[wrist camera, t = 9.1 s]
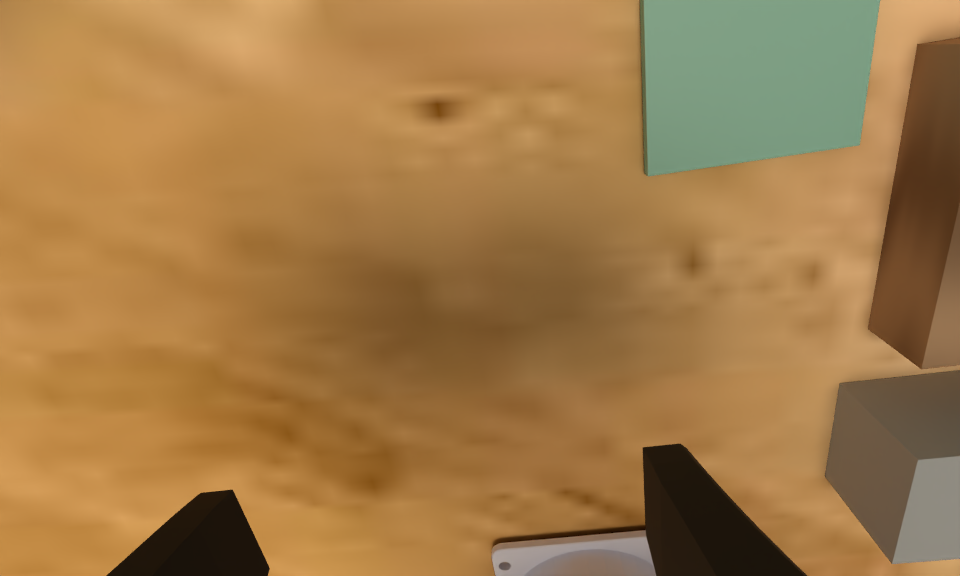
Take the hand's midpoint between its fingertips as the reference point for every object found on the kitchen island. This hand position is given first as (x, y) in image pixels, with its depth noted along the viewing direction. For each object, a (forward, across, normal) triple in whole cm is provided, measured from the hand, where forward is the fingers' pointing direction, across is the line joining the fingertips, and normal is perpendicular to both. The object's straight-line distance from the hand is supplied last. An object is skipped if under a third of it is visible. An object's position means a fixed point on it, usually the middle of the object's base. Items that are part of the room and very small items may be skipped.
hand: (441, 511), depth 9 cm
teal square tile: (+9, -9, -6) cm, 14 cm away
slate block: (+10, -15, +8) cm, 20 cm away
